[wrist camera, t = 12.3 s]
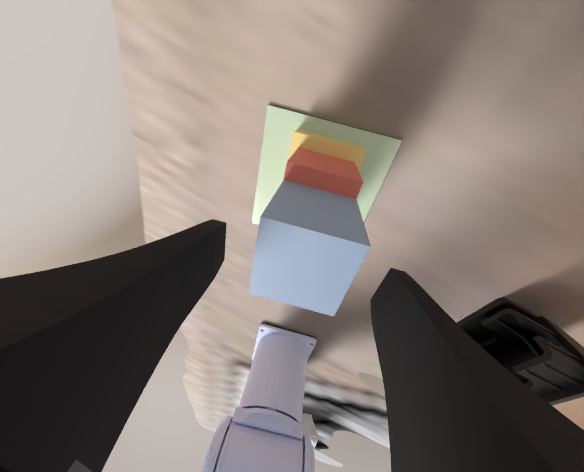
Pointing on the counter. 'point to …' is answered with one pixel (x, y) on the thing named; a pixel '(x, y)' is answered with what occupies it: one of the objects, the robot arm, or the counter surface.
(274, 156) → the baseplate
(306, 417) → the figurine
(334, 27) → the counter surface
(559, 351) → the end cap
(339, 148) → the mustard brick
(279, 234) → the blue brick
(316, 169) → the red brick
